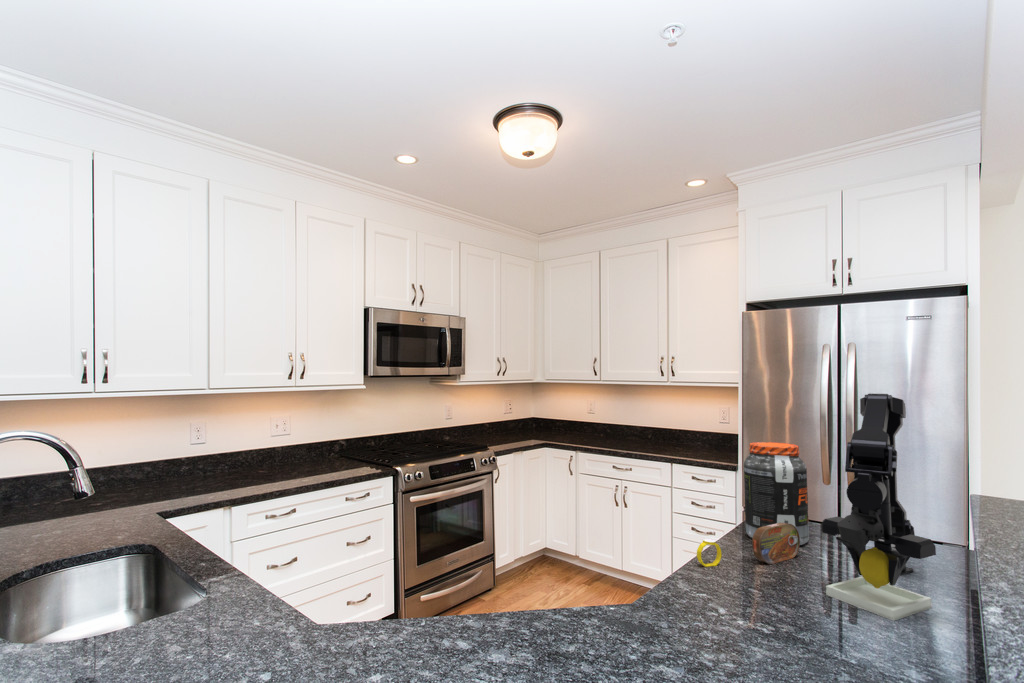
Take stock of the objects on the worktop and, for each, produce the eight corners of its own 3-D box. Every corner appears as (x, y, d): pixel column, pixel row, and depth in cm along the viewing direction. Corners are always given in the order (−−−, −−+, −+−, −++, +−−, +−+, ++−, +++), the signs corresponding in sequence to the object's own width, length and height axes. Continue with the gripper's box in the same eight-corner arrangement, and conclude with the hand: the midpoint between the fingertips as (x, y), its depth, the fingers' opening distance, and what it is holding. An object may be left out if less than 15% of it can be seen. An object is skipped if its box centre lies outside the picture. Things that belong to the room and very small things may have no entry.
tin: (761, 566, 122) (760, 530, 123) (750, 562, 125) (749, 527, 125) (801, 556, 129) (800, 522, 130) (789, 553, 132) (788, 519, 132)
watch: (715, 563, 125) (716, 538, 125) (723, 567, 122) (724, 541, 123) (694, 564, 123) (695, 538, 124) (701, 568, 121) (702, 542, 121)
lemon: (899, 595, 100) (897, 552, 101) (867, 592, 101) (865, 550, 102) (885, 583, 105) (883, 543, 106) (855, 581, 107) (853, 542, 107)
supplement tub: (809, 552, 132) (805, 449, 134) (742, 542, 140) (739, 445, 142) (809, 535, 146) (806, 443, 148) (749, 527, 154) (746, 439, 156)
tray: (864, 584, 111) (863, 575, 112) (931, 607, 100) (931, 598, 100) (826, 594, 106) (825, 585, 106) (893, 620, 95) (893, 610, 95)
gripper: (803, 495, 109) (806, 570, 108) (900, 516, 93) (905, 606, 92) (836, 489, 114) (839, 562, 113) (935, 509, 97) (939, 594, 96)
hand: (876, 579), depth 103 cm, fingers closed on lemon, 5 cm apart
